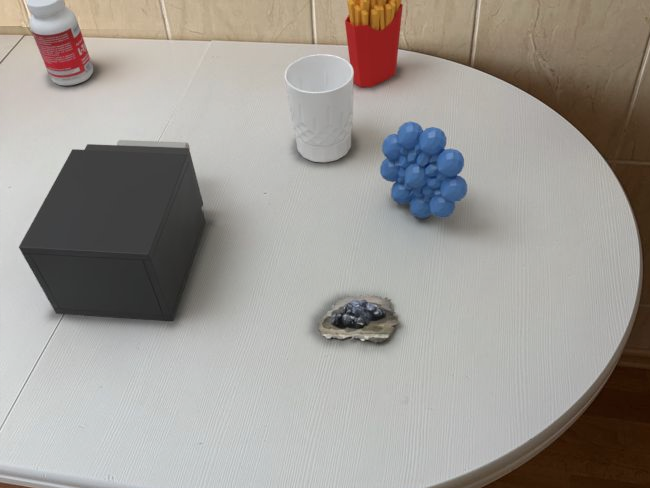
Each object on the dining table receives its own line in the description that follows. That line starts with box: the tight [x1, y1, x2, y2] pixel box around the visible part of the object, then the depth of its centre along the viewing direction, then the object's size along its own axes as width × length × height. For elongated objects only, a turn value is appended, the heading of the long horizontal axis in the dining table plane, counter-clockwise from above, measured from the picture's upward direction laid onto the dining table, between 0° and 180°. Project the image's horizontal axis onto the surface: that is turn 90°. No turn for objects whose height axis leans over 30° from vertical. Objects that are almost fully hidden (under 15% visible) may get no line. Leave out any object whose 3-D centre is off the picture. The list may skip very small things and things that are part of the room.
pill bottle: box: [25, 0, 94, 86], centre depth 96 cm, size 6×6×11 cm
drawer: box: [84, 139, 204, 207], centre depth 76 cm, size 18×11×8 cm, turn 173°
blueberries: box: [317, 294, 400, 344], centre depth 69 cm, size 7×8×2 cm
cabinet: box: [18, 148, 207, 322], centre depth 73 cm, size 15×13×10 cm
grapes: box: [379, 121, 468, 219], centre depth 75 cm, size 12×7×12 cm, turn 43°
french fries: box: [344, 0, 404, 88], centre depth 92 cm, size 8×4×12 cm, turn 128°
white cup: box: [283, 53, 354, 163], centre depth 84 cm, size 8×8×10 cm
